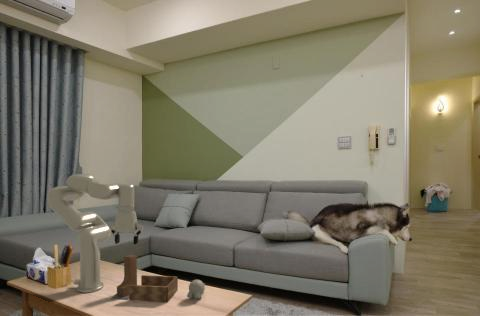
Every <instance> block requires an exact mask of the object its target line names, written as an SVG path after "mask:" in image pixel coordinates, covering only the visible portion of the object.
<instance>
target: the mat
mask: <svg viewBox="0 0 480 316" xmlns="http://www.w3.org/2000/svg"><path fill="white" fill-rule="evenodd" d="M113 299H114V300H127V301H129V295H127V296H124V297H120V296H117V292H116V293H115V294H114V295H113V296H111V297H110V300H113Z"/></svg>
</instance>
